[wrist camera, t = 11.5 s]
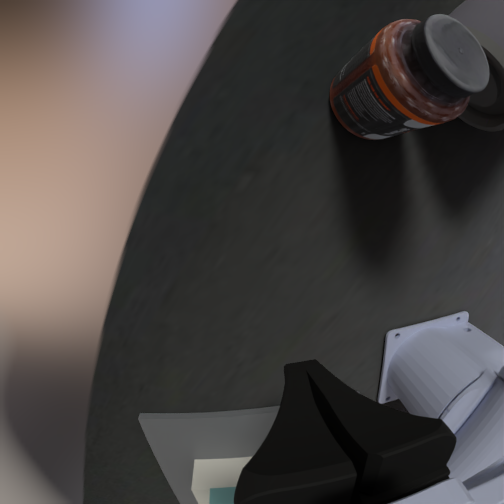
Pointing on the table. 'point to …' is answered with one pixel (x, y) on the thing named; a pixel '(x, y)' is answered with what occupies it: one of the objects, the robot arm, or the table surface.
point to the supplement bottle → (409, 78)
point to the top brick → (222, 495)
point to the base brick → (215, 475)
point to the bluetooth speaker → (498, 56)
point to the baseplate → (203, 440)
